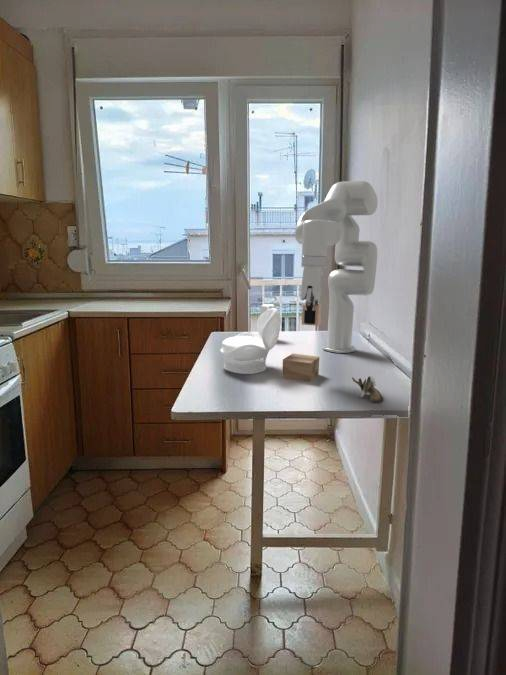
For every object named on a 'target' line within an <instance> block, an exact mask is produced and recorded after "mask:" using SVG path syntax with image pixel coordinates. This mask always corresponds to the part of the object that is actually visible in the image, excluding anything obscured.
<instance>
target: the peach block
mask: <svg viewBox="0 0 506 675" xmlns="http://www.w3.org/2000/svg"><path fill="white" fill-rule="evenodd" d="M322 304H323V303H319V304H315V310H314V311H316V312H315V324H305V323H304V315H305V303H303V304H302V307H301V309H302V310H301V311H302V312H301V325H303V326H304V325H305V326H318V327H319V326H320V324H321V322H322V308H323V306H322ZM312 305H313V303H312Z"/></svg>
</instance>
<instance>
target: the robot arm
mask: <svg viewBox="0 0 506 675" xmlns="http://www.w3.org/2000/svg"><path fill="white" fill-rule="evenodd" d="M375 191H376V190H375V189H374V188H373V186H372V185H371V183H369V181H366V180H350V181H349V180H347V181H346V180H343V181H338V182H336V183H334V184H333V185H332V186H331V187H330V189H329V191H328V193H327V195H326V197H325V198H324V201H322V202H320V203H318V204H316V205H314V206H312V207H311V208H309V209H306V210H305V211H304V212H303V213H302V214H301V216H300V218H299V219H298V221H297V222H296V223H297V224H296V226H295V228H294V229H295V230H294V237H295V240H296V242H297V243H298V244H300V245H301V266H300V267H301V268H303V270H302V279H301V289H300V290H301V291H300V300H301V301H304V300H305V303H304V304H305V315H304V323H305V324H315V312H316V311H314V310H315V304H320V302H319V301H320V299H321V298H322V292H323V274H324V272H323V271H324V269H323V268H327V263H328V262H327V261H328V246H334V245H335V247H334V261H335V264H337V265H338V266H343V267H358V268H359V267H361V268H362V269H363V270H362V269H345V268H340V269H339V268H338V269H335V270H332V271H331V272H330V273H329V274H328V278H327V284H328V285H327V286H328V294H329V295H328V296H329V299H328V301H329V302H328V320H327V321H328V322H327V335H326V338H327V340H326V343H325V344H323V346H322V349H323V350H324V351H327V352H330V353H334V354H335V353H336V354H337V353H339V354H348V353H349V354H350V353H353V352H354V353H355V351H356V346H354V345H352V343H353V340H352V339H353V327H354V326H353V325H354V309H355V308H354V303H353V301H352V300H351V298H350V297H349V296H365V297H366V296H370V295H371V294H373V292H374V290H375V285H376V276H377V275H376V273H377V264H378V247H377V244H376V243H375V242H373V241H370V240H367V241H365V240H361V241H360V239H359V238H360V226H359V224H358V223H357V221H356V219H354V217H353V216H372V215H374V214H375V213H376V211H377V208H378V204H379V202H378V195H377V193H376V192H375ZM312 303H313V305H312Z"/></svg>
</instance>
